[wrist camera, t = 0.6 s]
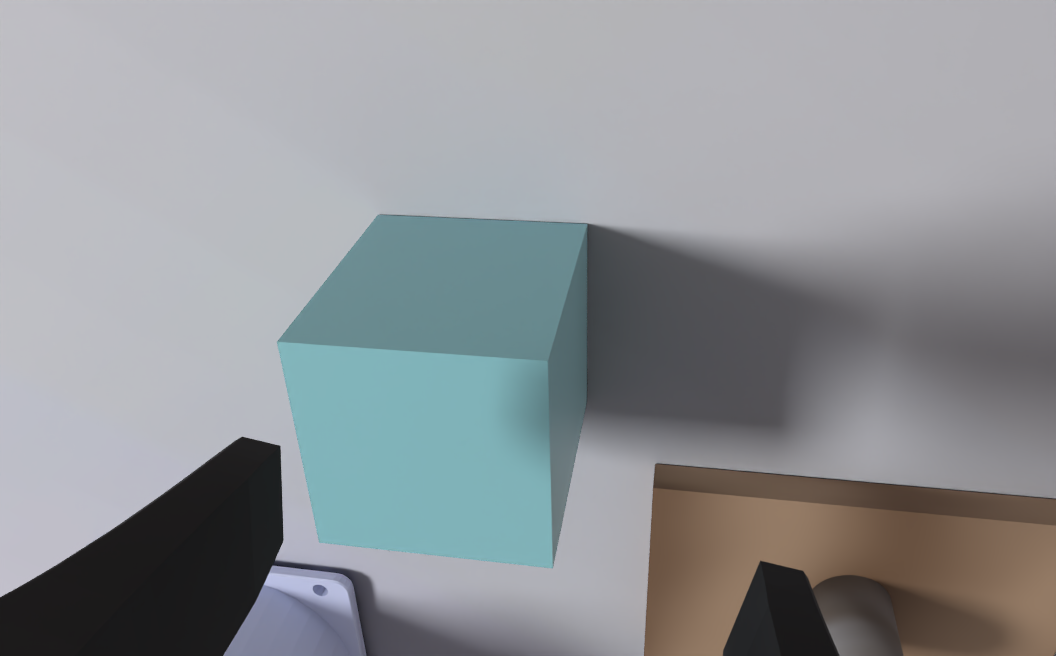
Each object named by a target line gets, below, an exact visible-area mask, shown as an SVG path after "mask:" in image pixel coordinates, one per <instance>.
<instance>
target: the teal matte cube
mask: <svg viewBox="0 0 1056 656" xmlns="http://www.w3.org/2000/svg"><path fill="white" fill-rule="evenodd" d="M277 344H278V349H279V353H280V358H281V363H282V368H283V372H284V377H285V382H286V387H287V391H288V396H289V401H290V406H291V410H292V415H293V420H294V425H295V429H296V434H297V439H298V444H299V449H300V453H301V458H302V463H303V468H304V472H305V477H306V482H307V487H308V491H309V496H310V501H311V506H312V510H313V515H314V520H315V525H316V529H317V534H318V539H319V543H328V544H337V545H346V546H355V547H364V548H374V549H383V550H392V551H401V552H410V553H419V554H428V555H437V556H446V557H455V558H464V559H473V560H482V561H491V562H500V563H509V564H518V565H527V566H536V567H545V568H553V565H554V560H555V555H556V550H557V545H558V540H559V536H560V531H561V526H562V521H563V516H564V511H565V506H566V501H567V497H568V492H569V487H570V482H571V477H572V472H573V467H574V462H575V457H576V453H577V448H578V443H579V438H580V433H581V428H582V423H583V418H584V414H585V409H586V404H587V224H576V223H553V222H531V221H508V220H485V219H463V218H440V217H417V216H395V215H378V216H377V217H376V218H375V219H374V221H373V222H372V223H371V224H370V226H369V227H368V228H367V229H366V231H365V232H364V233H363V234H362V236H361V237H360V238H359V240H358V241H357V242H356V243H355V245H354V246H353V247H352V248H351V250H350V251H349V252H348V253H347V255H346V256H345V257H344V258H343V260H342V261H341V262H340V263H339V265H338V266H337V267H336V268H335V270H334V271H333V272H332V273H331V275H330V276H329V277H328V278H327V280H326V281H325V282H324V284H323V285H322V286H321V287H320V289H319V290H318V291H317V292H316V294H315V295H314V296H313V297H312V299H311V300H310V301H309V302H308V304H307V305H306V306H305V307H304V309H303V310H302V311H301V312H300V314H299V315H298V316H297V317H296V319H295V320H294V321H293V322H292V324H291V325H290V326H289V328H288V329H287V330H286V331H285V333H284V334H283V335H282V336H281V338H280V339H279V340H278V341H277Z"/></svg>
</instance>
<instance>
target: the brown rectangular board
mask: <svg viewBox="0 0 1056 656" xmlns="http://www.w3.org/2000/svg"><path fill="white" fill-rule="evenodd" d="M760 561H764V562H768V563H773V564H777V565H781V566H785V567H789V568H793V569H798V570H802V571H804V573H805V574H806V576H807V577H808V579H809V582H810V584H811V587H812V590H813V592H814V595H815V597H816V600H817V603H818V605H819V608H820V610H821V613H822V615H823V618H824V620H825V622H826V625H827V627H828V630H829V632H830V634H831V637H832V639H833V641H834V644H835V646H836V648H837V651H838V653H839V655H840V656H1054V654H1055V652H1056V499H1044V498H1033V497H1022V496H1011V495H999V494H988V493H977V492H966V491H954V490H943V489H932V488H921V487H909V486H898V485H887V484H875V483H864V482H853V481H842V480H830V479H819V478H808V477H797V476H785V475H774V474H763V473H752V472H740V471H729V470H718V469H707V468H695V467H684V466H673V465H662V464H655V473H654V485H653V501H652V519H651V538H650V556H649V574H648V592H647V610H646V629H645V647H644V656H723V649H724V647H725V645H726V642H727V640H728V637H729V635H730V632H731V630H732V628H733V625H734V623H735V620H736V618H737V616H738V613H739V611H740V608H741V606H742V603H743V601H744V599H745V596H746V594H747V591H748V589H749V587H750V584H751V582H752V579H753V577H754V574H755V572H756V570H757V567H758V565H759V562H760Z"/></svg>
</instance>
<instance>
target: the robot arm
mask: <svg viewBox="0 0 1056 656" xmlns="http://www.w3.org/2000/svg"><path fill="white" fill-rule="evenodd" d="M282 543H283V512H282V481H281V450H280V446H279V445H274V444H270V443H266V442H262V441H258V440H253V439H249V438H245V437H241V438H239V439H238V440H236V441H234V442H233V443H232V444H230V445H229V446H228V447H226V448H225V449H223V450H222V451H221V452H219V453H218V454H217V455H215V456H214V457H213V458H211V459H210V460H209V461H207V462H206V463H205V464H203V465H202V466H201V467H199V468H198V469H197V470H195V471H194V472H193V473H191V474H190V475H189V476H187V477H186V478H184V479H183V480H182V481H180V482H179V483H178V484H176V485H175V486H173V487H172V488H171V489H169V490H168V491H167V492H165V493H164V494H162V495H161V496H160V497H158V498H157V499H155V500H154V501H153V502H151V503H150V504H148V505H147V506H145V507H144V508H143V509H141V510H140V511H138V512H137V513H135V514H134V515H132V516H131V517H130V518H128V519H127V520H125V521H124V522H122V523H121V524H120V525H118V526H117V527H115V528H114V529H112V530H111V531H109V532H108V533H106V534H105V535H103V536H101V537H100V538H98V539H97V540H95V541H94V542H92V543H90V544H89V545H87V546H86V547H84V548H83V549H81V550H79V551H78V552H76V553H75V554H73V555H72V556H70V557H68V558H67V559H65V560H64V561H62V562H61V563H59V564H57V565H56V566H54V567H52V568H51V569H49V570H47V571H46V572H44V573H42V574H41V575H39V576H37V577H36V578H34V579H32V580H30V581H29V582H27V583H25V584H23V585H22V586H20V587H18V588H16V589H15V590H13V591H11V592H9V593H7V594H5V595H4V596H2V597H0V656H367V655H366V650H365V645H364V640H363V634H362V629H361V624H360V618H359V613H358V608H357V603H356V597H355V592H354V587H353V584H352V582H351V580H350V579H349V578H348V577H346V576H344V575H343V574H339V573H332V572H323V571H315V570H306V569H298V568H289V567H280V566H272V565H273V563H274V561H275V559H276V556H277V554H278V552H279V549H280V547H281V545H282ZM723 656H840V655H839V653H838V651H837V648H836V646H835V644H834V641H833V639H832V637H831V634H830V632H829V630H828V627H827V625H826V622H825V620H824V618H823V615H822V613H821V610H820V608H819V605H818V603H817V600H816V597H815V595H814V592H813V590H812V587H811V584H810V582H809V579H808V577H807V576H806V574H805V573H804V571H802V570H798V569H793V568H789V567H785V566H781V565H777V564H773V563H768V562H764V561H760V562H759V565H758V567H757V570H756V572H755V574H754V577H753V579H752V582H751V584H750V587H749V589H748V591H747V594H746V596H745V599H744V601H743V603H742V606H741V608H740V611H739V613H738V616H737V618H736V620H735V623H734V625H733V628H732V630H731V632H730V635H729V637H728V640H727V642H726V645H725V647H724V649H723Z"/></svg>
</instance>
